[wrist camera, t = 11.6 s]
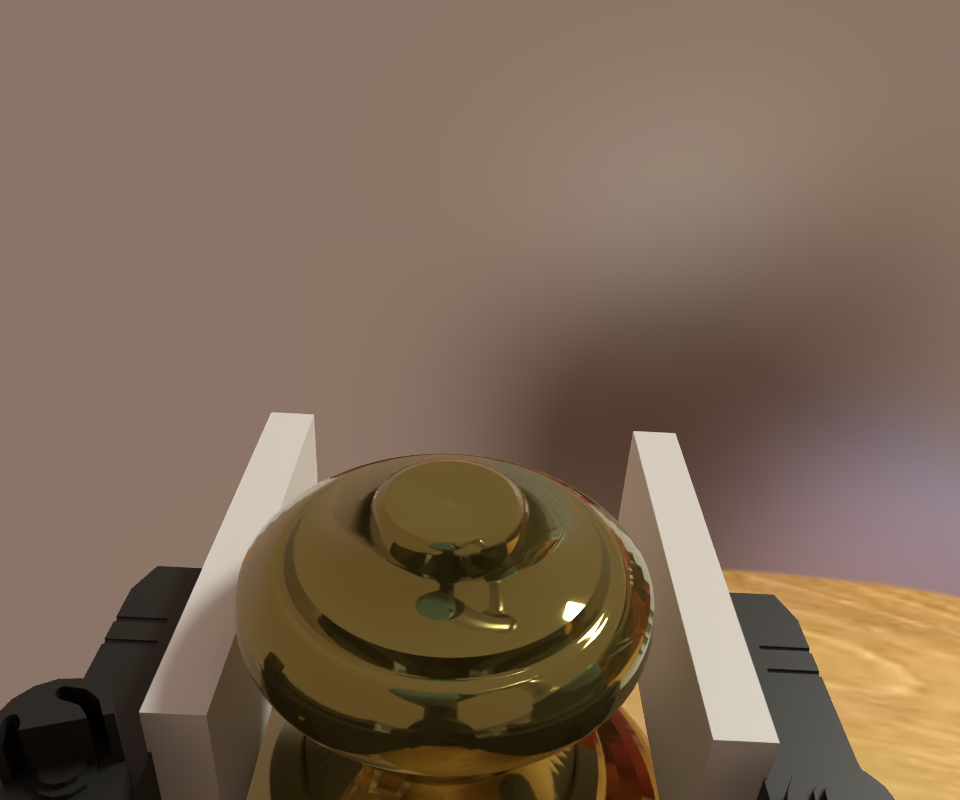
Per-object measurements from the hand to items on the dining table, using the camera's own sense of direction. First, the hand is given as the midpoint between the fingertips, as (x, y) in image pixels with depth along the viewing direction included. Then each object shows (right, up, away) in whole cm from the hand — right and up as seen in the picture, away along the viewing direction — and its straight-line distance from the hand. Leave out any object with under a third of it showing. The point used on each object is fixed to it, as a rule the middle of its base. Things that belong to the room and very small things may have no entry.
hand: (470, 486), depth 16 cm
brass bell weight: (-1, -8, -1) cm, 8 cm away
